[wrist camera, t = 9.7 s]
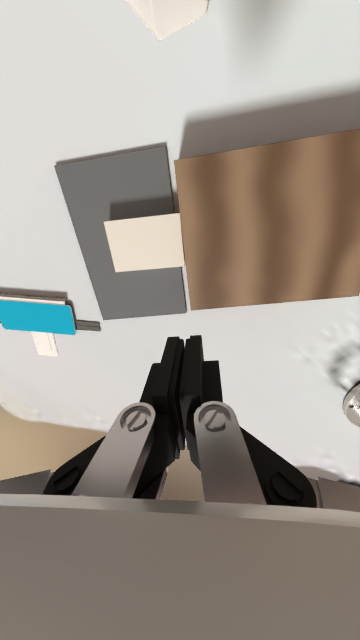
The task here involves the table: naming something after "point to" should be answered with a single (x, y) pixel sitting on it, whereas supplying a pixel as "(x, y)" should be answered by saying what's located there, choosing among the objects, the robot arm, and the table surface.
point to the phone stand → (41, 319)
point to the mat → (116, 204)
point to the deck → (272, 222)
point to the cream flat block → (146, 242)
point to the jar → (168, 14)
